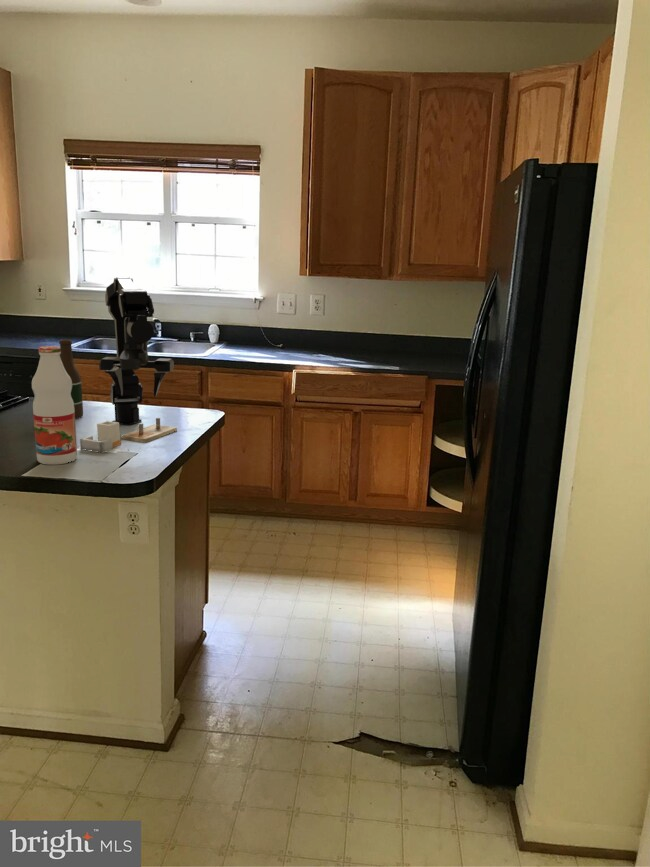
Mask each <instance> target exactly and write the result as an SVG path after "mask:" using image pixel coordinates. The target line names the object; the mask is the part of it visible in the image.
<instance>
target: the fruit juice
mask: <svg viewBox="0 0 650 867" xmlns="http://www.w3.org/2000/svg"><path fill="white" fill-rule="evenodd" d="M60 352H61V349H60V346H55V345H44V346H39V347H38V355H39V356H40V357H39V361H38V366H37V367H36V368H37V369H36V372H35V374H34V375H33V377H32V380H31V389H32V392H33V395H34V399H33V401H32V413H33V414H32V415H33V425H34V426H33V429H34V438H35V439H34V440H35V452H36V454H35V455H36V460H37V462H38V463H40V464H43V465H53V466H54V465H55V466H57V465H64V464H68V462H69V463H72V462H74V461H76V460H77V457H78V448H77V446H78V445H77V431H76V430H77V428H76V419H75V410H74V402H73V399H72V397H71V390H72V380H71V378H70V376H69V375H68V374H67V372H66V370H65V368H64V366H63V364H62V361H61V359H60V354H61V353H60ZM75 459H76V460H75ZM71 461H72V462H71Z"/></svg>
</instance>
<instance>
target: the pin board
mask: <svg viewBox="0 0 650 867" xmlns="http://www.w3.org/2000/svg"><path fill="white" fill-rule="evenodd" d="M174 431H175V432H177V431H178V428H177V426H169V425H162V424H161V417H156V418H155V424H151V425H148V426H145V427H144V423H138V429H137V430H134V431H130V432H128V433H125V434H122V435H121V440H125V439H126V440H127V441H132V442H140V443H149V442H151V441H153V439H154V440H157V439H159V438H161V436H162V437H164V436H166V434H167V435H170V434H173V433H175V432H174ZM169 433H170V434H169Z"/></svg>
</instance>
